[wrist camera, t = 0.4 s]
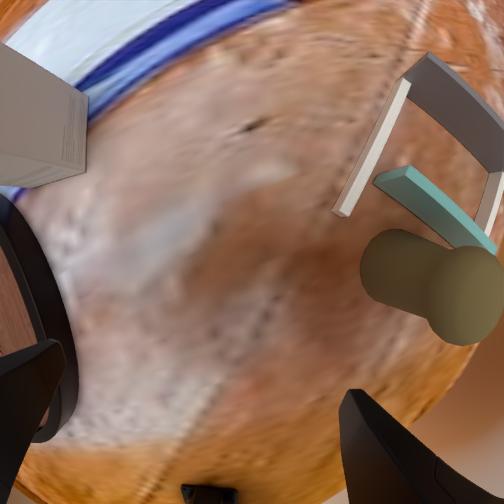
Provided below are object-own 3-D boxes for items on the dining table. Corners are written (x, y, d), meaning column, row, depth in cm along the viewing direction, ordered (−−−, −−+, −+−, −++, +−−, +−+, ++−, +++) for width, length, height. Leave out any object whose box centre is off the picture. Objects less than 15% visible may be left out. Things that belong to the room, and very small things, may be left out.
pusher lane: (449, 292, 21) (491, 311, 15) (331, 211, 20) (360, 208, 14) (495, 171, 19) (536, 166, 13) (395, 81, 19) (429, 50, 13)
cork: (434, 267, 21) (529, 298, 10) (387, 318, 21) (466, 383, 10) (397, 212, 20) (497, 213, 9) (344, 266, 21) (423, 311, 10)
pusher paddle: (456, 249, 20) (494, 256, 15) (373, 183, 20) (405, 175, 15) (460, 241, 20) (497, 247, 15) (377, 175, 19) (409, 164, 14)
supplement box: (91, 95, 19) (-1, 33, 7) (87, 174, 20) (-32, 149, 7) (34, 118, 19) (-56, 85, 7) (29, 190, 20) (-75, 184, 8)
